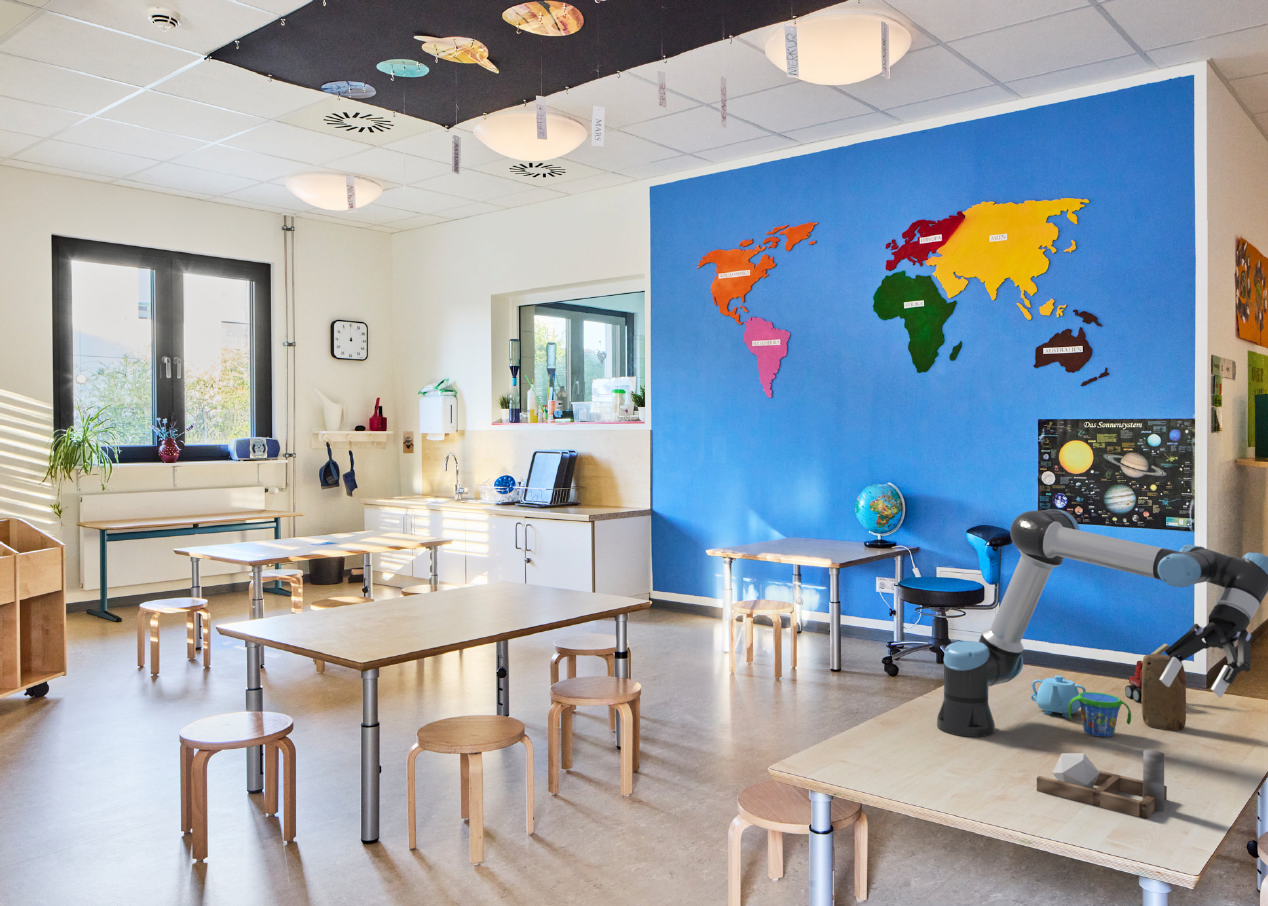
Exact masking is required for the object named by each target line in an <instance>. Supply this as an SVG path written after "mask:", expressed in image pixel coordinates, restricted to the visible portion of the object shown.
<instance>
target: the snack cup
mask: <svg viewBox="0 0 1268 906" xmlns="http://www.w3.org/2000/svg"><path fill="white" fill-rule="evenodd" d="M1076 700H1078V701H1080V705H1081V707H1080V713H1081V721H1082V728H1083V732H1085V733H1086V734H1089V735H1091V736H1094V737H1107V738H1110V737H1112V736H1113V735H1114V734H1116V733H1115V732H1116V727H1117V726H1116V725H1117V720H1118V716H1119V712H1120V709H1121V706H1122V705H1124V706H1125V707H1126V709H1127V711H1128V712H1127V719H1126V724H1127V725H1130V724H1131V722H1132V711H1131V708H1130V706H1129V705H1128V704H1127V703H1126V702H1125V701H1123V700H1122V699H1121V698H1119V697H1118V696H1115V695H1112V694H1109V693H1103V692H1096V691H1095V692H1094V691H1088V692H1087V691H1086V692H1083V691H1082V692H1081V693H1080V692H1079V695H1078V696H1076V697H1074V698H1073V699H1072V700H1071V701H1070V703H1069V706H1068V714H1069V718H1068V719H1070V720H1072V719H1073V717H1072V714H1071V712H1072V703H1073V702H1075V701H1076Z"/></svg>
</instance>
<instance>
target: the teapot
mask: <svg viewBox="0 0 1268 906" xmlns="http://www.w3.org/2000/svg"><path fill="white" fill-rule="evenodd" d="M1036 683H1041V684H1040V686H1039V688H1038V690H1037V689H1036ZM1031 688H1032V690H1033V694H1031V695H1030V699H1031V700H1032V701H1033V702H1036V704H1037V706H1038V708H1039V709H1040V710H1043V714H1044V715H1046V716H1047V715H1048V716H1050V715H1052V713H1057V714H1058V713H1059V714H1062V717H1063V718H1066V717H1067V719H1070V718H1069V714H1068V706H1069V703H1070V701H1071V700H1072V699H1073V698H1074V697H1076V696H1078V695H1079V694H1080V692H1079V690H1078V688H1079V689H1081V690H1082V693H1083V692H1087V690H1086V687H1084V686H1083V685H1082V684H1076V683H1075V682H1074V680H1070V679H1066V678H1065V677H1064V676H1063V675H1054V676H1053V677H1046V678H1044V679H1035V680H1033V681H1032V684H1031ZM1079 709H1081V705H1080V701H1078V700H1076V701H1075V702H1073V703H1072V712H1071V715H1072V714H1075V713H1077V712H1078V711H1079Z"/></svg>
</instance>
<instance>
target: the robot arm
mask: <svg viewBox="0 0 1268 906" xmlns="http://www.w3.org/2000/svg"><path fill="white" fill-rule="evenodd" d="M1009 534H1010V538H1011V542H1012V543H1013V545H1014V547H1016V548H1017V550H1018V551H1019V553H1020V557H1019V561H1018V562H1017V564H1016V567H1015V569H1014V572H1013V575H1012V577H1011V579H1010V582H1009V584H1008V586H1007V588H1006V591H1005V593H1004V595H1003V597H1002V600H1001V602H1000V605H999V606H998V607H999V608H998V609H997V613H996V614H995V617H994V619H993V621H992V623H991V626H990V628H986V629H984V630H982V633H981V635H980V637H979V639H978V641H974V640H963V641H955V642H951V643H949V644H948V645H947V646H946V647H945V649H944V656H943V666H944V668H943V700H942V703H941V706H940V709H939V711H938V715H937V719H936V721H937V722H936V726H937V728H938V729H940V730H941V731H943V732H946V733H948V734H952V735H956V736H963V737H988V736H992V735H993V734H995V731H996V729H995V727H996V726H995V720H994V717H993V714H992V711H991V708H990V704H989V687H992V686H996V685H1000V684H1001V685H1002V684H1005V683H1009V682H1010V681H1012V680H1013V679H1015V678H1017V677H1018V676H1019V674H1020V673H1021V672H1022V670H1023V667H1024V657H1023V656H1022V654H1023V651H1024V646H1023V644H1022V639H1023V637H1024V634H1025V632H1026V630H1027V627H1028V625H1029V623H1030V621H1031V619H1032V617H1033V614H1034V612H1035V609H1036V607H1037V604H1038V603H1039V600H1040V598H1041V595H1042V594H1043V591H1044V589H1045V586H1046V584H1047V582H1048V579H1049V578H1050V575H1051V572H1052V571H1053V569H1054V568H1057V567H1060V566H1061V565H1062V563H1063V561H1064V559H1068V560H1069V559H1070V560H1074V561H1078V562H1082V563H1088V564H1091V565H1094V566H1100V567H1104V568H1107V569H1112V570H1116V571H1120V572H1125V573H1130V574H1133V575H1137V576H1143V577H1146V578H1150V579H1156V580H1160V581H1163V582H1164V583H1165V584H1166V585H1168V586H1170V587H1177V588H1178V587H1179V588H1186V587H1190V586H1193V585H1196V584H1201V583H1209V584H1213V585H1214V586H1215V585H1216V586H1219V587H1221V588H1224V589H1223V591H1222V592H1221V595H1220V596H1219V597H1218V600H1217V601H1216V603H1215V604H1216V605H1214V606H1213V608H1212V610H1211V612H1210V614H1209V615H1208V624H1206V626H1200V625H1199V624H1198V623H1194V624H1193V625H1192V626H1191V627H1190V628H1189V630H1188V631H1187V632H1186V633H1185V634H1183V635H1182V636H1181V637H1180V638H1178V639H1177V640H1176V641H1175V642H1173V643H1172V644H1171V645H1169V648H1168V649H1167V650H1165V651H1164V653H1165V655H1167V656H1169V657H1170V659H1169V661H1168V662H1167V664H1166V666H1165V670H1164V672H1163V674H1162V676H1161V677H1160V679H1159V680H1160V681H1162V682H1163V683H1164V684H1165V685H1166V686H1167V687H1170V685H1171V684H1172V682H1173V680H1174V678H1175V677H1176V675H1177V673H1178V672H1179V670H1180V668H1181V666H1182V665H1183V666H1184V663H1183V661H1185V660H1187V659H1188V658H1190V657H1191V656H1193V655H1196V654H1197V653H1198V652H1200V651H1203V650H1204V649H1205V650H1206V649H1209V648H1219V649H1221V650H1223V649H1224V653H1225V657H1226V660H1227V665H1226V664H1224V665H1223V667H1222V668H1221V670H1220V672H1219V674H1218V676H1217V678H1216V679H1215V681H1214V682H1213V684H1212V685H1211V688H1210V690H1211V691H1212V692H1213V693H1214V694H1215V695H1216V696H1217V697H1218V698H1222V697H1223V696H1224V695H1225V692H1226V690H1227V689H1228V687H1229V686H1230V684H1232V683H1234V680H1235V678H1236V677H1237V676H1238V674H1239V673H1241V672H1242V671H1243V672H1246V673H1247V672H1248V673H1249V672H1250V671H1251V644H1252V641H1253V639H1254V636H1253V635H1252V634H1251V633H1250V632H1249V631H1248V630H1247V628H1248V627H1249V625H1250V624H1251V623H1250V622H1251V621H1252V619H1253V617H1254V616H1255V614H1256V612H1258V609H1259V607H1260V606H1261V603H1262V601H1264V598H1265V597H1266V595H1267V593H1268V556H1267V555H1265V554H1264V553H1260V552H1251V551H1250V552H1246V553H1245V554H1244V555H1243V556H1242V557H1241V558H1238V557H1234V556H1230V555H1227V554H1225V553H1224V554H1223V553H1220V552H1218V551H1214V550H1211V549H1208V548H1205V547H1203V546H1197V545H1194V544H1189V543H1188V544H1185V545H1183V546H1182V547H1181V548H1180V549H1179V551H1178V550H1173V549H1168V548H1163V547H1159V546H1154V545H1150V544H1146V543H1145V544H1144V543H1139V542H1135V541H1130V540H1125V539H1121V538H1116V537H1114V536H1113V537H1112V536H1107V535H1103V534H1099V533H1098V534H1097V533H1093V532H1088V531H1085V530H1084V531H1083V530H1081V529H1080V526H1079V524H1078V521H1077V520H1076V519H1075V517H1074V516H1073V515H1072V514H1070V513H1069V512H1068V511H1066V510H1062V509H1055V508H1047V509H1045V510H1044V509H1043V510H1029V511H1025V512H1023V513H1021V514H1019V515H1018V516H1016V518H1015V519H1014V520H1013V521H1012V524H1011V525H1010V529H1009ZM1203 639H1204V640H1203ZM1236 641H1237V649H1236V647H1235V642H1236ZM1236 651H1237V652H1236ZM1181 662H1182V663H1181Z"/></svg>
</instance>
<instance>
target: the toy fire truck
mask: <svg viewBox="0 0 1268 906" xmlns="http://www.w3.org/2000/svg"><path fill="white" fill-rule="evenodd" d="M1169 647H1170V645H1169V644H1168V643H1163V644H1162V645H1161V646H1159V647H1158V648H1156V649H1155V650H1154V651H1153V652H1151V654H1159V655H1163V653H1165V650H1167V649H1168V648H1169ZM1142 665H1143V660H1137V661H1136V666H1135V671H1134V676H1131V675H1130V676H1129V677H1128V683H1129V685H1126V686H1125V688H1124V692H1125V696H1126V697H1127V698H1128V699H1133V701H1134V702H1135V703H1141V697H1142Z"/></svg>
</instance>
